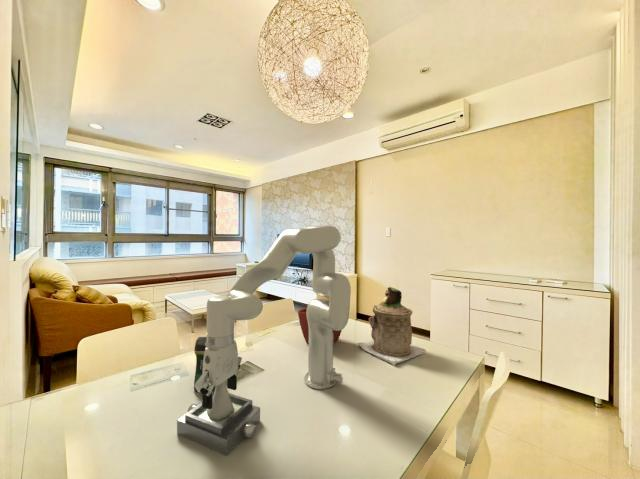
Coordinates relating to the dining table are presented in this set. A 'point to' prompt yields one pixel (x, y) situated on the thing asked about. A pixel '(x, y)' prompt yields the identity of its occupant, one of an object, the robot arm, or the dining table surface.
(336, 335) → the plant pot
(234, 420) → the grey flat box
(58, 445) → the dining table surface
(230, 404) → the flask
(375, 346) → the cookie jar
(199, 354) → the coffee jar
